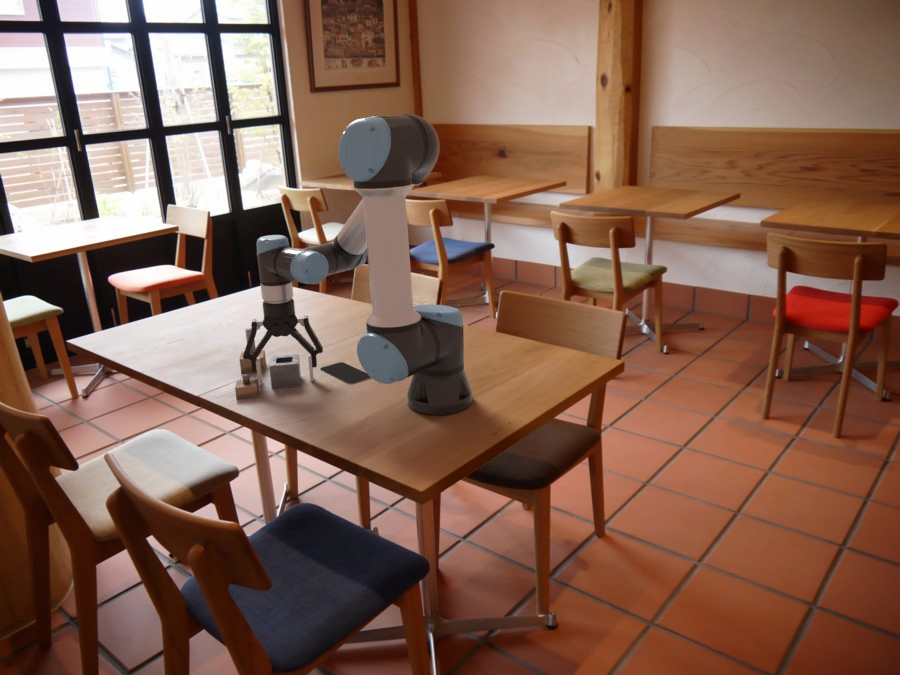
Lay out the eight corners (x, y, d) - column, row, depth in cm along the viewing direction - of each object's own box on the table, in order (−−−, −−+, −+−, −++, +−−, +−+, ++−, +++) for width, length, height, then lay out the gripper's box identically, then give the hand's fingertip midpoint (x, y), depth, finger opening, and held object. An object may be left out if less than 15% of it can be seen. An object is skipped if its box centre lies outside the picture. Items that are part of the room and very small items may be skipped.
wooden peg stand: (264, 371, 195) (260, 331, 192) (241, 373, 194) (236, 333, 191) (266, 363, 201) (261, 325, 197) (243, 365, 200) (238, 326, 197)
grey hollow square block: (300, 386, 185) (298, 363, 183) (271, 388, 184) (269, 366, 182) (300, 376, 192) (298, 354, 190) (273, 378, 191) (270, 356, 189)
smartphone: (342, 361, 201) (373, 376, 190) (342, 363, 201) (374, 378, 190) (318, 368, 196) (349, 383, 185) (318, 370, 196) (349, 386, 185)
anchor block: (257, 397, 179) (255, 378, 177) (236, 399, 178) (234, 380, 177) (259, 389, 184) (257, 370, 182) (238, 391, 183) (236, 372, 181)
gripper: (328, 292, 186) (334, 372, 193) (228, 298, 183) (238, 379, 190) (328, 300, 179) (335, 382, 186) (224, 307, 176) (235, 391, 183)
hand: (286, 381), depth 188 cm, fingers open, 12 cm apart
